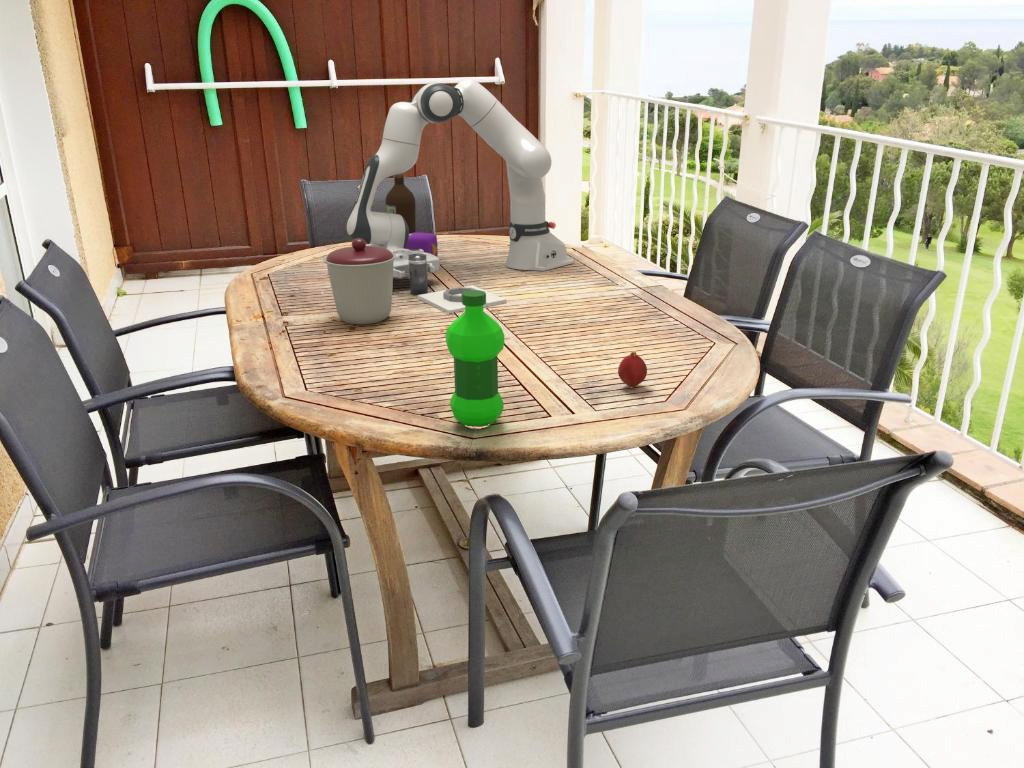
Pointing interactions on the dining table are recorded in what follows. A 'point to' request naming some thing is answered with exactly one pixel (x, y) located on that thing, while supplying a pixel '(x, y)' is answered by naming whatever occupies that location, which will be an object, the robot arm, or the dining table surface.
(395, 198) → the olive oil
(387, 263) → the canister
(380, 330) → the dining table surface
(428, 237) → the toy camera
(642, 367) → the onion
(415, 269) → the lens tube
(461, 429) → the dining table surface
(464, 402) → the plastic bottle
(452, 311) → the mount board
